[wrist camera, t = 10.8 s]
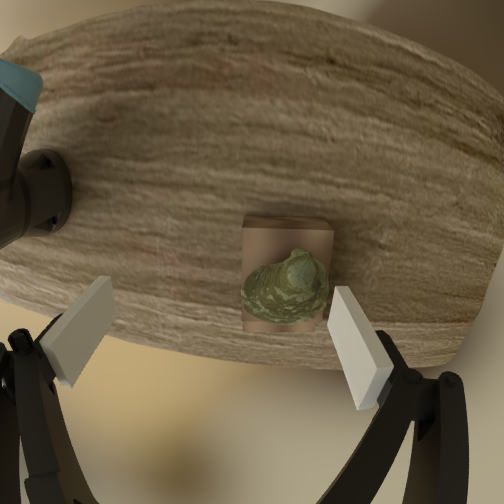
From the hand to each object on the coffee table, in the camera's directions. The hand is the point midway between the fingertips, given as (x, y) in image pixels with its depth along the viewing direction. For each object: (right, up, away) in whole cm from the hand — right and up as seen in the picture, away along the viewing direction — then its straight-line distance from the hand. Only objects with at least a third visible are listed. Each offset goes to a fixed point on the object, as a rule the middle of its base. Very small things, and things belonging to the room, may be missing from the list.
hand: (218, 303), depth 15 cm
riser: (+6, -1, +26) cm, 27 cm away
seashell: (+6, -1, +20) cm, 21 cm away
